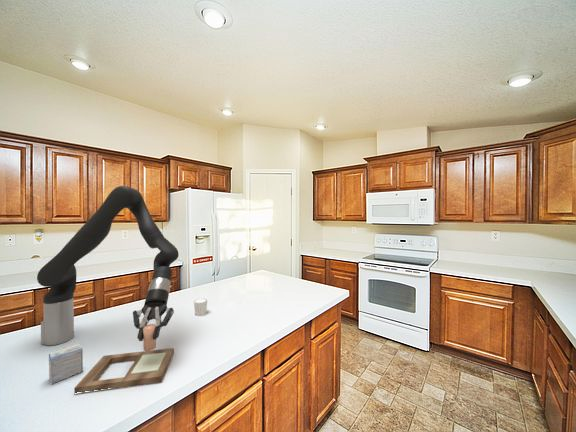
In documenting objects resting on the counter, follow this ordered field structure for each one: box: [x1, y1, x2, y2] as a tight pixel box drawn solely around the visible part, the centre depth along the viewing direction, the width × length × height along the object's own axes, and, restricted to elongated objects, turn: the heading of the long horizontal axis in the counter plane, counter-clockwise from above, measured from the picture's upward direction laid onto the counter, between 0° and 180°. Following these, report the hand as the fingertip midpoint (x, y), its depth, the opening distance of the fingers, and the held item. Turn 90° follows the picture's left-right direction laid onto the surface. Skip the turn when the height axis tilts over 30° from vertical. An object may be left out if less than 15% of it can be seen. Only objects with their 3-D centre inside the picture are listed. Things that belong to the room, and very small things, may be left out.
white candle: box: [193, 298, 208, 317], centre depth 127 cm, size 7×7×7 cm
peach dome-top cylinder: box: [142, 323, 157, 351], centre depth 82 cm, size 4×4×8 cm
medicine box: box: [48, 343, 84, 385], centre depth 79 cm, size 8×4×9 cm, turn 141°
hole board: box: [73, 347, 175, 394], centre depth 81 cm, size 24×16×2 cm, turn 103°
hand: (147, 339), depth 80 cm, fingers closed on peach dome-top cylinder, 3 cm apart
